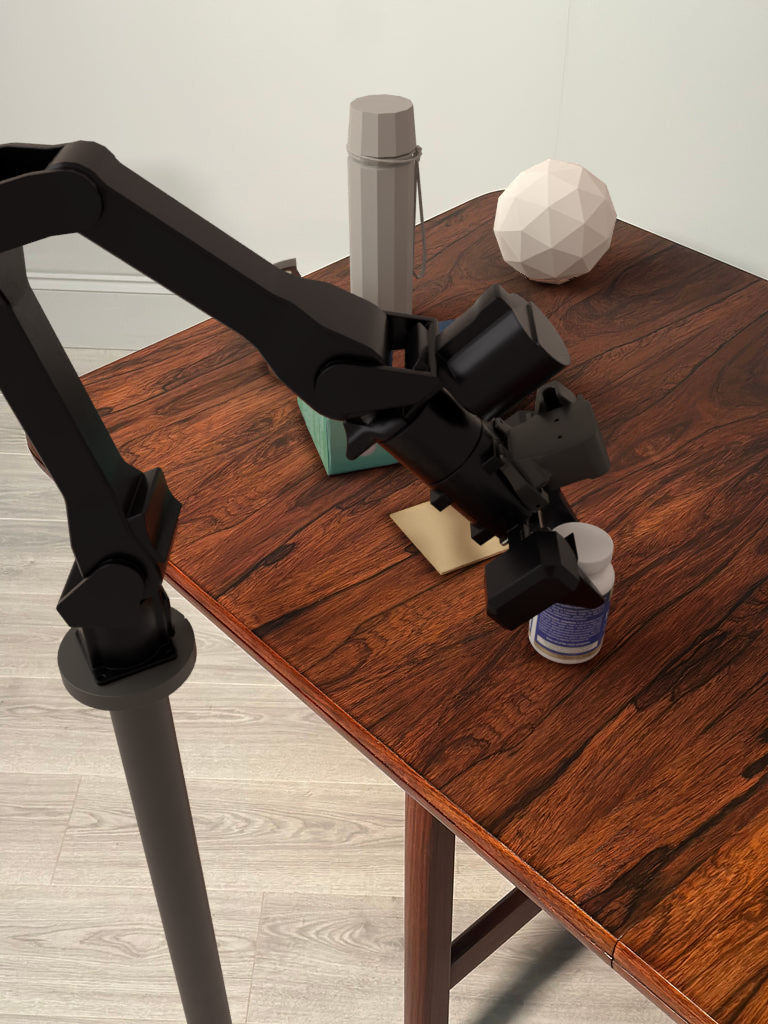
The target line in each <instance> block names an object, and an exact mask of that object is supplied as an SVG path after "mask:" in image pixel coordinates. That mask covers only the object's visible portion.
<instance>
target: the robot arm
mask: <svg viewBox="0 0 768 1024" xmlns="http://www.w3.org/2000/svg"><path fill="white" fill-rule="evenodd" d="M71 234H78V235H80V236H81V237H83V238H84V239H87V240H88V241H90V242H91V243H92V244H94V245H96V246H98V248H100V249H102V250H104V251H105V252H107V253H109V254H110V255H112V256H113V257H115V258H117V259H118V260H120V261H122V262H123V263H124V264H126V265H128V266H129V267H131V268H132V269H134V270H135V271H137V272H139V273H140V274H142V275H143V276H145V277H146V278H148V279H150V280H152V281H153V282H155V283H156V284H158V285H159V286H161V287H162V288H164V289H166V290H167V291H169V292H170V293H172V294H173V295H175V296H177V297H178V298H180V299H182V300H183V301H185V302H186V303H187V304H189V305H191V306H193V307H194V308H196V309H197V310H199V311H201V312H202V313H204V314H205V315H207V316H209V317H210V318H211V319H213V320H215V321H217V322H218V323H220V324H221V325H223V326H224V327H226V328H228V329H229V330H231V331H232V332H234V333H235V334H237V335H239V336H240V337H241V338H243V340H244V341H246V342H247V343H249V344H250V345H251V346H252V347H253V348H254V349H255V350H256V351H257V352H258V353H259V355H260V356H261V358H262V359H263V360H264V362H265V363H266V364H267V367H268V366H269V367H270V369H271V370H272V371H273V373H274V374H275V375H276V377H277V378H278V379H279V380H278V379H277V378H276V379H277V380H278V381H279V382H280V383H281V384H282V385H284V386H285V387H286V388H287V389H289V390H290V391H291V393H293V394H294V395H295V396H296V397H297V396H298V397H299V398H300V399H301V400H302V401H304V402H305V403H306V404H307V405H308V406H309V407H311V408H312V409H313V410H314V411H316V412H317V413H318V414H320V415H322V416H324V417H327V418H329V419H332V420H337V421H343V426H344V429H345V432H346V438H347V446H346V458H347V459H348V460H351V461H352V460H355V459H357V458H358V457H359V456H360V455H362V454H363V453H364V452H365V451H367V450H368V449H369V448H370V447H372V446H373V445H374V444H376V443H377V444H379V445H380V446H381V447H382V448H383V449H385V450H386V451H387V452H388V453H389V454H390V455H392V456H393V457H394V458H395V459H396V460H397V461H399V462H398V463H399V464H401V465H402V466H403V467H405V468H406V469H407V470H408V471H409V472H410V473H411V474H413V475H414V476H415V477H416V478H417V479H419V480H420V481H421V482H422V483H423V484H424V485H425V486H426V487H428V488H429V501H430V504H431V505H432V506H433V507H435V508H436V509H437V510H438V511H439V512H441V511H443V510H444V509H445V508H447V507H448V506H449V505H450V506H451V507H453V508H454V509H455V510H456V511H457V512H458V513H460V514H461V515H462V516H463V517H464V518H465V519H467V520H468V521H469V522H470V531H471V539H473V540H474V541H475V542H476V543H477V544H479V545H480V546H482V545H483V544H484V543H486V542H487V541H489V540H490V539H492V538H493V537H494V536H496V537H497V538H499V543H500V544H501V545H502V546H506V545H507V544H509V549H508V550H507V551H505V552H503V553H501V554H499V555H498V556H496V557H495V558H494V559H492V560H491V561H489V562H487V564H485V565H484V571H483V590H484V605H485V614H486V616H487V617H488V618H490V619H491V620H492V621H493V622H495V623H496V624H497V625H498V626H500V627H501V628H502V629H503V630H506V631H509V632H513V631H514V630H516V629H518V628H519V627H521V626H522V625H524V624H526V623H527V622H530V619H532V618H533V617H535V616H537V615H538V614H540V613H541V612H543V611H544V610H546V609H548V608H549V607H551V606H552V605H554V604H555V603H558V604H564V605H570V606H576V607H582V608H588V609H596V608H597V607H599V606H601V605H602V604H604V602H605V600H604V597H603V596H602V594H601V593H600V592H599V590H598V589H597V588H596V586H595V585H594V584H593V583H592V581H591V580H590V579H589V578H588V576H587V575H586V574H585V573H584V572H583V570H582V569H581V568H580V567H579V566H578V553H577V547H576V542H575V537H574V533H573V532H572V533H571V534H569V535H568V536H566V537H565V538H563V537H562V536H561V535H560V534H559V533H558V532H557V531H552V530H553V529H554V528H556V527H557V526H559V525H562V524H565V523H571V522H580V520H579V518H578V517H577V515H576V513H575V511H574V510H573V509H572V507H571V504H570V503H569V502H568V499H567V498H566V496H565V494H564V493H563V491H562V489H561V488H563V487H566V486H569V485H573V484H576V483H578V482H581V481H584V480H588V479H589V480H595V479H598V478H600V477H603V476H604V475H605V474H607V473H608V472H609V471H610V469H611V465H612V464H611V459H610V457H609V453H608V450H607V449H608V448H607V446H606V440H605V437H604V434H603V433H602V430H601V428H600V425H599V423H598V420H597V417H596V415H595V412H594V409H593V407H592V403H591V402H590V401H589V400H587V399H585V398H584V396H583V394H582V393H579V394H576V395H575V393H574V392H572V391H571V390H570V389H569V388H568V387H566V386H565V385H564V384H562V383H560V382H559V381H558V380H553V381H551V382H549V381H550V380H552V379H553V378H554V377H556V376H557V375H559V373H561V372H562V371H563V370H565V369H566V368H567V367H569V366H570V365H572V363H571V361H572V358H571V355H570V352H569V349H568V348H567V346H566V344H565V342H564V340H563V338H562V337H561V335H560V333H559V331H557V329H556V328H555V326H554V325H553V324H552V321H550V320H549V318H548V317H547V316H546V315H545V314H544V312H543V311H542V310H541V309H540V308H539V307H538V306H537V305H536V304H535V303H534V302H533V301H531V300H530V301H527V300H526V299H524V298H523V297H522V296H520V295H519V294H517V293H514V292H513V293H508V292H507V290H505V288H503V286H501V284H499V283H493V284H492V285H490V287H488V288H487V289H486V290H485V291H484V292H482V293H481V294H480V295H479V296H478V298H477V300H476V301H475V302H474V303H473V304H472V305H471V306H470V307H469V308H468V309H467V310H465V311H464V312H463V313H462V314H461V315H460V316H458V317H457V318H455V319H456V320H455V321H454V322H453V323H451V324H450V325H449V326H448V327H447V328H446V329H444V330H443V331H442V332H441V333H440V332H439V322H440V321H439V320H438V319H437V318H435V317H431V316H425V315H418V314H413V313H412V314H405V313H398V312H391V311H384V310H381V309H380V308H379V307H378V306H376V305H375V304H373V303H371V302H370V301H368V300H366V299H363V298H361V297H359V296H357V295H355V294H353V293H351V291H348V290H346V289H344V288H341V287H339V286H337V285H335V284H332V283H330V282H328V281H323V280H319V279H312V278H307V277H302V276H301V277H302V278H301V277H297V276H294V275H292V274H290V273H288V272H286V271H284V270H281V269H279V268H278V267H276V266H275V265H273V264H274V263H272V262H270V261H269V260H267V259H266V258H264V256H263V257H262V256H261V255H260V254H258V253H256V252H255V251H254V250H252V249H251V248H249V247H248V246H246V245H245V244H244V243H242V242H240V241H238V240H237V239H236V238H234V237H233V236H231V235H230V234H228V233H227V232H225V231H224V230H222V229H221V228H219V227H218V226H216V225H214V223H212V222H210V221H208V220H207V219H206V218H204V217H203V216H201V215H200V214H199V213H196V212H195V211H194V210H192V209H191V208H189V207H188V206H186V205H185V204H183V203H182V202H181V201H179V200H177V199H176V198H174V197H173V196H172V195H170V194H168V193H167V192H165V191H164V190H162V189H160V188H159V187H157V186H156V185H155V184H153V183H152V182H150V181H149V180H147V179H146V178H145V177H143V176H141V175H140V174H138V173H136V172H135V171H134V170H132V169H130V167H128V166H126V165H125V164H123V163H122V162H121V161H120V160H119V159H118V158H117V157H116V155H115V154H114V153H113V152H112V151H111V150H110V149H108V147H107V146H105V145H103V144H101V143H99V142H96V141H93V140H82V139H80V140H74V141H71V142H64V143H58V144H44V143H30V142H16V141H15V142H7V143H0V393H1V394H2V397H3V399H4V400H5V401H6V403H7V405H8V406H9V408H10V410H11V411H12V414H13V415H14V416H15V418H16V420H17V421H18V423H19V425H20V427H21V428H22V430H23V432H24V433H25V435H26V437H27V439H28V440H29V442H30V444H31V446H32V447H33V448H34V450H35V452H36V454H37V455H38V458H39V459H40V460H41V462H42V463H43V466H44V467H45V469H46V470H47V472H48V474H49V475H50V477H51V479H52V480H53V482H54V484H55V486H56V487H57V489H58V490H59V493H60V494H61V496H62V498H63V501H64V505H65V511H66V521H67V528H68V537H69V544H70V549H71V551H72V554H73V557H74V561H73V563H72V566H71V568H70V570H69V574H68V576H67V579H66V581H65V582H64V583H65V584H64V586H63V589H62V590H61V591H62V592H61V593H60V596H59V599H58V602H57V603H56V607H55V610H56V612H57V613H58V614H59V616H60V617H61V618H62V620H63V621H64V622H65V623H66V625H67V626H68V627H69V628H71V627H72V628H77V629H78V630H77V631H76V632H75V635H76V639H77V641H78V643H79V646H80V648H81V650H82V653H83V655H84V657H85V660H86V662H87V664H88V667H89V669H90V671H91V674H92V676H93V678H94V681H95V683H96V684H97V685H98V686H104V685H107V684H110V683H112V682H115V681H118V680H121V679H123V678H126V677H129V676H132V675H134V674H137V673H140V672H143V671H145V670H148V669H151V668H154V667H156V666H159V665H162V664H165V663H167V662H170V661H173V660H175V659H176V658H177V657H178V653H177V649H176V648H175V646H174V644H173V642H172V640H171V638H172V637H174V636H175V634H176V633H175V627H174V621H173V616H172V610H171V607H172V606H171V605H172V604H171V599H170V596H169V595H168V593H167V591H166V589H165V588H164V586H163V584H164V583H163V582H164V579H165V575H166V572H167V568H168V565H169V562H170V559H171V555H172V551H173V547H174V544H175V540H176V538H177V533H178V529H179V525H180V519H179V518H180V514H181V511H182V508H183V503H182V502H181V501H180V500H178V499H177V498H176V497H175V495H174V494H173V493H172V491H171V490H170V488H169V485H168V483H167V478H166V476H165V472H164V470H163V469H162V467H160V466H156V467H154V468H152V469H148V470H146V471H142V470H141V469H139V468H137V467H135V466H134V465H132V464H130V463H128V462H127V461H126V460H125V459H124V457H123V456H122V455H121V453H120V450H119V449H118V447H117V445H116V444H115V442H114V440H113V438H112V436H111V434H110V433H109V431H108V429H107V427H106V425H105V423H104V421H103V420H102V418H101V416H100V413H99V412H98V410H97V408H96V406H95V405H94V402H93V401H92V399H91V397H90V394H89V393H88V391H87V389H86V387H85V386H84V384H83V382H82V380H81V378H80V376H79V374H78V372H77V371H76V369H75V367H74V365H73V363H72V361H71V360H70V357H69V355H68V354H67V352H66V350H65V348H64V346H63V345H62V343H61V341H60V339H59V337H58V335H57V333H56V332H55V330H54V328H53V326H52V324H51V322H50V320H49V318H48V316H47V315H46V313H45V311H44V309H43V307H42V305H41V303H40V301H39V299H38V297H37V296H36V294H35V292H34V290H33V288H32V287H31V284H30V281H29V278H28V275H27V267H26V260H25V252H24V246H27V245H29V244H32V243H35V242H39V241H41V240H44V239H47V238H50V237H56V236H57V237H58V236H63V235H64V236H65V235H71ZM400 350H404V363H403V364H404V367H397V366H396V367H395V366H393V362H394V361H393V356H394V351H400ZM535 392H536V396H535V402H534V410H518V411H516V412H514V413H513V414H512V415H511V416H510V417H508V418H507V419H506V420H503V419H502V417H503V416H505V415H506V414H507V413H508V412H510V411H511V410H513V409H514V408H516V406H518V405H519V404H520V403H522V402H523V401H524V400H525V399H527V398H528V397H529V396H531V395H532V394H534V393H535ZM170 654H172V655H170ZM100 679H103V680H100Z"/></svg>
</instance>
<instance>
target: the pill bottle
mask: <svg viewBox="0 0 768 1024" xmlns="http://www.w3.org/2000/svg"><path fill="white" fill-rule="evenodd" d="M552 531H557V532H558V533H559V534H560V535H561V536H562V537H563V538H565V537H566V536H568V535H569V534H571V533H572V532H573V533H574V537H575V542H576V547H577V553H578V566H579V567H580V568H581V569H582V570H583V572H584V573H585V574H586V575H587V576H588V578H589V579H590V580H591V581H592V583H593V584H594V585H595V586H596V588H597V589H598V590H599V592H600V593H601V594H602V596H603V597H604V600H605V602H604V604H602V605H601V606H599V607H597V608H596V609H588V608H582V607H576V606H570V605H564V604H558V603H555V604H554V605H552V606H551V607H549V608H548V609H546V610H544V611H543V612H541V613H540V614H538V615H537V616H535V617H533V618H532V619H530V620H529V621H528V623H529V624H528V639H529V642H530V644H531V645H532V647H533V649H534V650H535V651H536V653H538V654H539V655H541V656H542V657H544V658H545V659H547V660H549V661H551V662H553V663H559V664H563V665H573V664H574V665H575V664H581V663H585V662H588V661H590V660H591V659H593V658H594V657H595V656H596V655H597V654H598V653H599V652H600V650H601V648H602V647H603V644H604V643H603V642H604V638H605V633H606V628H607V623H608V618H609V612H610V607H611V601H612V597H613V591H614V586H615V580H616V579H615V578H616V574H615V569H614V567H613V564H612V560H613V553H614V547H615V546H614V541H613V539H612V537H611V536H610V535H609V533H608V532H606V531H605V530H604V529H602V528H601V527H599V526H596V525H593V524H590V523H587V522H580V521H579V522H571V523H565V524H562V525H559V526H557V527H556V528H554V529H553V530H552Z"/></svg>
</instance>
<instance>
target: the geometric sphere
mask: <svg viewBox="0 0 768 1024" xmlns="http://www.w3.org/2000/svg"><path fill="white" fill-rule="evenodd" d="M617 218H618V214H617V211H616V209H615V206H614V203H613V200H612V197H611V194H610V192H609V189H608V186H607V184H606V182H605V181H603V180H601V179H600V178H599V177H597V176H596V175H594V174H593V173H592V172H590V171H589V170H588V169H587V168H585V167H584V166H583V165H581V164H580V163H575V162H570V161H565V160H560V159H554V158H548V159H546V160H543V161H541V162H539V163H537V164H536V165H533V166H531V167H529V168H527V169H524V170H523V171H521V172H519V174H518V175H517V176H516V177H515V178H514V179H513V181H512V182H510V184H509V185H508V186H507V187H506V189H505V190H504V191H503V192H501V194H500V196H499V197H498V198H497V205H496V211H495V217H494V224H493V233H494V235H495V238H496V241H497V245H498V247H499V250H500V253H501V256H502V259H503V261H504V262H505V263H507V264H508V265H509V266H510V267H512V269H514V270H515V271H517V272H518V271H519V272H520V273H519V272H518V273H519V274H521V273H522V274H524V275H526V276H527V277H531V278H535V279H544V280H562V279H567V278H572V277H576V278H578V277H580V276H583V275H585V274H587V273H590V272H591V270H592V269H593V268H594V267H595V266H596V265H597V263H599V261H600V260H601V259H602V257H603V256H604V255H605V254H606V253H607V251H608V250H609V249H610V247H611V243H612V239H613V234H614V230H615V226H616V221H617ZM522 274H521V275H522ZM569 281H570V280H566V281H561V282H547V281H536V282H537V283H546V284H552V285H561V284H564V283H567V282H569Z"/></svg>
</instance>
